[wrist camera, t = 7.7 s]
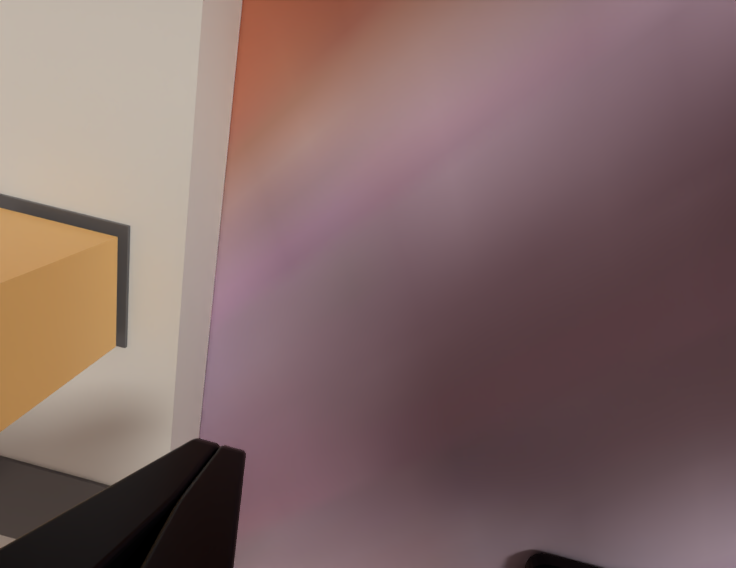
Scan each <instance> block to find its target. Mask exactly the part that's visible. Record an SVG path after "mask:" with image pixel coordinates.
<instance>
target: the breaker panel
mask: <svg viewBox="0 0 736 568" xmlns="http://www.w3.org/2000/svg"><path fill="white" fill-rule="evenodd" d="M241 10H242V0H0V208H3V209H7V210H11V211H15V212H19V213H23V214H27V215H31V216H35V217H40V218H44V219H48V220H52V221H56V222H60V223H64V224H68V225H72V226H76V227H80V228H84V229H88V230H92V231H96V232H100V233H104V234H108V235H112V236H116V237H118V250H117V310H116V347H115V348H113V349H112V350H111V351H109V352H108V353H107V354H105V355H104V356H102V357H101V358H100V359H98V360H97V361H96V362H94V363H93V364H92V365H90V366H89V367H88V368H86V369H85V370H84V371H82V372H81V373H80V374H78V375H77V376H75V377H74V378H73V379H71V380H70V381H69V382H67V383H66V384H65V385H63V386H62V387H61V388H59V389H58V390H57V391H55V392H54V393H53V394H51V395H50V396H48V397H47V398H46V399H44V400H43V401H42V402H40V403H39V404H38V405H36V406H35V407H34V408H32V409H31V410H30V411H28V412H27V413H26V414H24V415H23V416H21V417H20V418H19V419H17V420H16V421H15V422H13V423H12V424H11V425H9V426H8V427H7V428H5V429H4V430H3V431H1V432H0V548H2V547H3V546H5V545H7V544H9V543H10V542H12V541H14V540H16V539H17V538H19V537H21V536H23V535H24V534H26V533H28V532H30V531H32V530H33V529H35V528H37V527H39V526H40V525H42V524H44V523H46V522H47V521H49V520H51V519H53V518H54V517H56V516H58V515H60V514H61V513H63V512H65V511H67V510H69V509H70V508H72V507H74V506H76V505H77V504H79V503H81V502H83V501H84V500H86V499H88V498H90V497H91V496H93V495H95V494H97V493H98V492H100V491H102V490H104V489H106V488H107V487H109V486H111V485H113V484H114V483H116V482H118V481H120V480H121V479H123V478H125V477H127V476H128V475H130V474H132V473H134V472H135V471H137V470H139V469H141V468H142V467H144V466H146V465H148V464H150V463H151V462H153V461H155V460H157V459H158V458H160V457H162V456H164V455H165V454H167V453H169V452H171V451H172V450H174V449H176V448H178V447H179V446H181V445H183V444H185V443H187V442H188V441H190V440H192V439H195V438H199V432H200V422H201V412H202V402H203V392H204V382H205V372H206V362H207V352H208V342H209V332H210V322H211V312H212V302H213V292H214V282H215V272H216V262H217V252H218V242H219V232H220V221H221V211H222V201H223V191H224V181H225V171H226V161H227V151H228V141H229V131H230V121H231V111H232V101H233V91H234V81H235V71H236V61H237V51H238V41H239V31H240V21H241Z"/></svg>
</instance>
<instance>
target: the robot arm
mask: <svg viewBox="0 0 736 568" xmlns="http://www.w3.org/2000/svg"><path fill="white" fill-rule="evenodd" d="M245 458H246V453H245V451H243V450H240V449H237V448H233V447H229V446H226V445H224V446H221V447H220V446H219V445H218V444H217V443H215V442H211V441H207V440H203V439H200V438H195V439H192V440H190V441H188V442H187V443H185V444H183V445H181V446H179V447H178V448H176V449H174V450H172V451H171V452H169V453H167V454H165V455H164V456H162V457H160V458H158V459H157V460H155V461H153V462H151V463H150V464H148V465H146V466H144V467H142V468H141V469H139V470H137V471H135V472H134V473H132V474H130V475H128V476H127V477H125V478H123V479H121V480H120V481H118V482H116V483H114V484H113V485H111V486H109V487H107V488H106V489H104V490H102V491H100V492H98V493H97V494H95V495H93V496H91V497H90V498H88V499H86V500H84V501H83V502H81V503H79V504H77V505H76V506H74V507H72V508H70V509H69V510H67V511H65V512H63V513H61V514H60V515H58V516H56V517H54V518H53V519H51V520H49V521H47V522H46V523H44V524H42V525H40V526H39V527H37V528H35V529H33V530H32V531H30V532H28V533H26V534H24V535H23V536H21V537H19V538H17V539H16V540H14V541H12V542H10V543H9V544H7V545H5V546H3V547H2V548H0V568H233V567H234V558H235V549H236V539H237V530H238V521H239V512H240V503H241V494H242V485H243V476H244V467H245ZM525 568H598V567H594V566H590V565H586V564H583V563H579V562H575V561H572V560H568V559H564V558H560V557H557V556H553V555H549V554H543V553H541V554H535V555H534V556H532V557H530V559H529V560H528V561H527V563H526V566H525Z"/></svg>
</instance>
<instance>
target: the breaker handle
mask: <svg viewBox="0 0 736 568" xmlns="http://www.w3.org/2000/svg"><path fill="white" fill-rule="evenodd" d="M117 250H118V237H116V236H112V235H108V234H104V233H100V232H96V231H92V230H88V229H84V228H80V227H76V226H72V225H68V224H64V223H60V222H56V221H52V220H48V219H44V218H40V217H35V216H31V215H27V214H23V213H19V212H15V211H11V210H7V209H3V208H0V432H1V431H3V430H4V429H5V428H7V427H8V426H9V425H11V424H12V423H13V422H15V421H16V420H17V419H19V418H20V417H21V416H23V415H24V414H26V413H27V412H28V411H30V410H31V409H32V408H34V407H35V406H36V405H38V404H39V403H40V402H42V401H43V400H44V399H46V398H47V397H48V396H50V395H51V394H53V393H54V392H55V391H57V390H58V389H59V388H61V387H62V386H63V385H65V384H66V383H67V382H69V381H70V380H71V379H73V378H74V377H75V376H77V375H78V374H80V373H81V372H82V371H84V370H85V369H86V368H88V367H89V366H90V365H92V364H93V363H94V362H96V361H97V360H98V359H100V358H101V357H102V356H104V355H105V354H107V353H108V352H109V351H111V350H112V349H113V348H115V347H116V310H117Z"/></svg>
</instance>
